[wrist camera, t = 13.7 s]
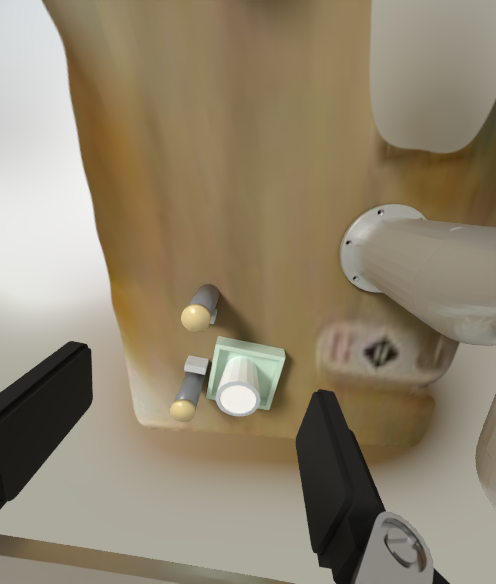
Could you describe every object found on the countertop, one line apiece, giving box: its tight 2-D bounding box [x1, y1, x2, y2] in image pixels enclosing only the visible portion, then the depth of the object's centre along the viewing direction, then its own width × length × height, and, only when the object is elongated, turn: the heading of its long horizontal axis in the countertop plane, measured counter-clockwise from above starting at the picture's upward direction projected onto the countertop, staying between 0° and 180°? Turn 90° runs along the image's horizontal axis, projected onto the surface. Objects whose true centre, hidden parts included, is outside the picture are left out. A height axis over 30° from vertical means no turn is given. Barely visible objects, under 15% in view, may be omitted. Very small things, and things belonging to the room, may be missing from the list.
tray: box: [206, 336, 285, 410], centre depth 43 cm, size 12×12×2 cm
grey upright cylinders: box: [170, 284, 220, 422], centre depth 38 cm, size 4×20×9 cm, turn 168°
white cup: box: [215, 357, 260, 416], centre depth 40 cm, size 7×7×7 cm
